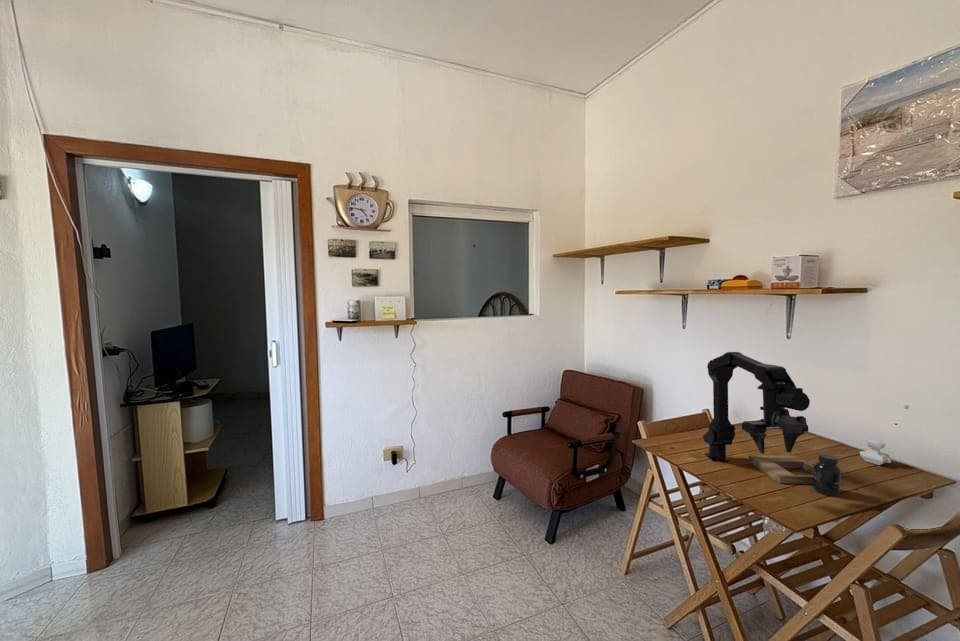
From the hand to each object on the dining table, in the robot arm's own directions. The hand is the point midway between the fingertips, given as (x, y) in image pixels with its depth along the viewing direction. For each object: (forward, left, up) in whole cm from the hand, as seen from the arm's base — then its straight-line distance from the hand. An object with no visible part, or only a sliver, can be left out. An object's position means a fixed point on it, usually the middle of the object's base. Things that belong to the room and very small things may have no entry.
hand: (775, 453), depth 129 cm
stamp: (-25, +55, -14) cm, 62 cm away
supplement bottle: (-3, +19, -14) cm, 24 cm away
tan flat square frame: (-16, +16, -14) cm, 27 cm away
